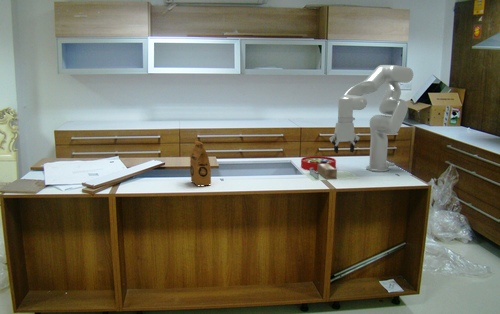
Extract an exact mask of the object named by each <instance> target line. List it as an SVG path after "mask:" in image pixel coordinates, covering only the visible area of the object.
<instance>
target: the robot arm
mask: <svg viewBox="0 0 500 314" xmlns="http://www.w3.org/2000/svg"><path fill="white" fill-rule="evenodd" d="M413 78H414V72H413V70H412V69H411V67H407V66H401V65H396V64H380V65H378V66H376V68H374V70H373V71H372V72H371V73H370V74H369V75H368V76H367V77H366V78H365V80H362V81H361V82H359V83H357V84H356V85H353V86H352V87H350V88H349V89H348V90H347V91H346V92H345V93H344V94H343V95H342V96H340V97H339V98H338V105H337V106H338V107H337V108H338V110H337V111H338V112H337V122H336V123H335V126H334V128H335V129H334V134H333V135H332V136H330V137H329V138H328V139H329V141H330V142H331V144H332V145H333V148H334V149H333V152H334V153H335V154H338V153H339V144H340V143H343V142H346V143H347V142H349V143H350V145H349V152H350V153H354V152H355V146H356V144H357V143H358V141H359V140H360V136H359V135H357V134H356V133H355V124H354V121H355V120H356V119H355V117H353V113H354V112H353V111H354V110H356V111H361V110H364V109H365V108H366V106H367V104H368V102H367V99H366V97H365V95H369V94H373V93H375V92H377V91H378V90H379V88H380V87H382V86H383V84H384V83H385V84H386V89H385V92H384V94H383V97H382V99H381V102H380V104H379V107H378V110H379V112H380V113H381V114H375V115H372V117H371V118H370V120H369V129H370V144H369V145H370V146H369V164H368V165H366V167H365V168H366V170H367V171H371V172H376V173H377V172H383V173H384V172H388V171H389V170H390V168H389V167H395V162H389V161H387V159H388V158H387V157H388V146H389V143H388V142H389V140H388V139H389V138H388V135H387V134H393V135H394V134H397V133H398V132H399V131H400V129H401V127H402V125H403V122H404V120H405V118H406V115H407V113H408V110H409V109H408V108H409V107H408V106H409V105H408V103H407V101H406V100H405V99H401V95H402V89H401V87H400V85H399V84H400V83H402V84H406V83H407V84H408V83H410V82H411V81H412V80H413Z"/></svg>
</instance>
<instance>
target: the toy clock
mask: <svg viewBox="0 0 500 314" xmlns="http://www.w3.org/2000/svg"><path fill="white" fill-rule="evenodd" d="M336 162H337V160H336V158H333V157H329V156H320V155H318V156H317V155H312V156H311V155H310V156H305V157H302V158H301V159H300V167H301V168H302V169H303V170H307V171H310V169H309V168H314V169H313V170H314V171H317V168H318V164H329V165H331V166H332V167H334V168H335V169H337V168H336V167H337V165H336V164H337V163H336Z"/></svg>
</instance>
